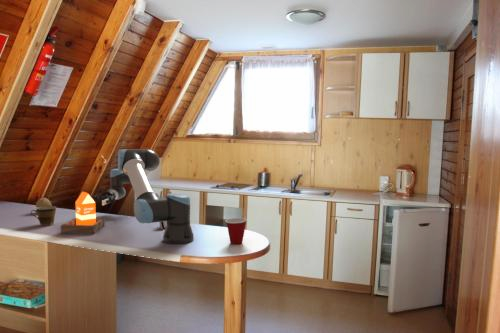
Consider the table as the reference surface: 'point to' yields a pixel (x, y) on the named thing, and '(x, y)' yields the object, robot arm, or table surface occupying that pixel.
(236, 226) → the plastic cup
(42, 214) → the ceramic cup
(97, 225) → the tray
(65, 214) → the table surface
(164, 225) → the hinge
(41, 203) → the natural sponge
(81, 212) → the orange juice
